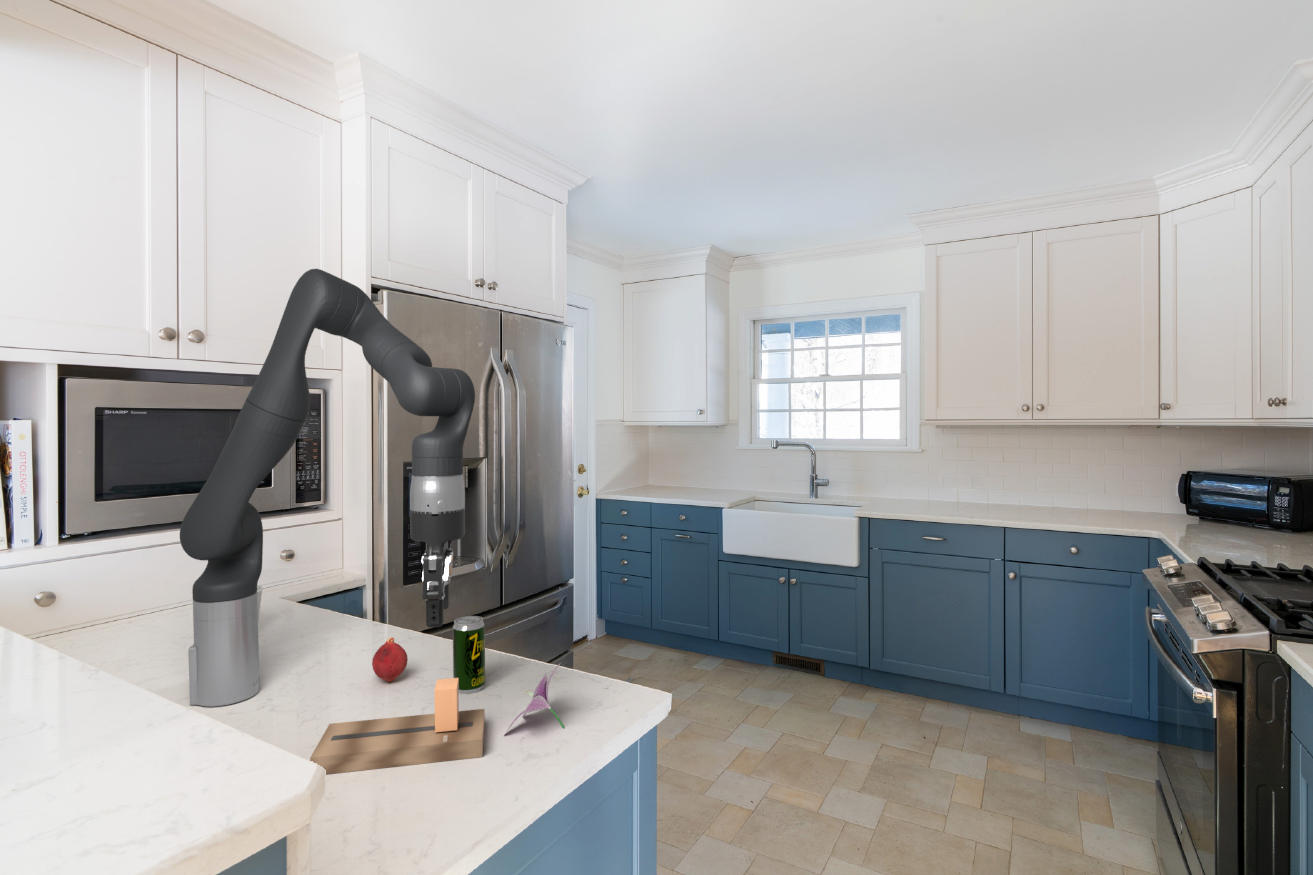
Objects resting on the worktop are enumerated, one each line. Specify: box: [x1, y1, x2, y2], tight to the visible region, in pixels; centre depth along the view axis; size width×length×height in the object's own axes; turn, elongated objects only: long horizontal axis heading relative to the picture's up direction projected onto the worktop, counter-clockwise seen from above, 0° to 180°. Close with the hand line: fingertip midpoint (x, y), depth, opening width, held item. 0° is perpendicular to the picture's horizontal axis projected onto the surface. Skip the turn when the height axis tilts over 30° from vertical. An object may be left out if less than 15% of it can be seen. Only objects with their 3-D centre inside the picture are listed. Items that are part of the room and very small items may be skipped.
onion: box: [371, 636, 408, 683], centre depth 120 cm, size 6×6×8 cm
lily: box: [504, 663, 565, 735], centre depth 102 cm, size 12×12×10 cm
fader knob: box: [434, 677, 460, 732], centre depth 97 cm, size 3×4×6 cm
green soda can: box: [452, 615, 486, 695], centre depth 117 cm, size 5×5×12 cm
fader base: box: [309, 708, 486, 775], centre depth 96 cm, size 22×10×3 cm, turn 103°
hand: (438, 617), depth 97 cm, fingers open, 8 cm apart
